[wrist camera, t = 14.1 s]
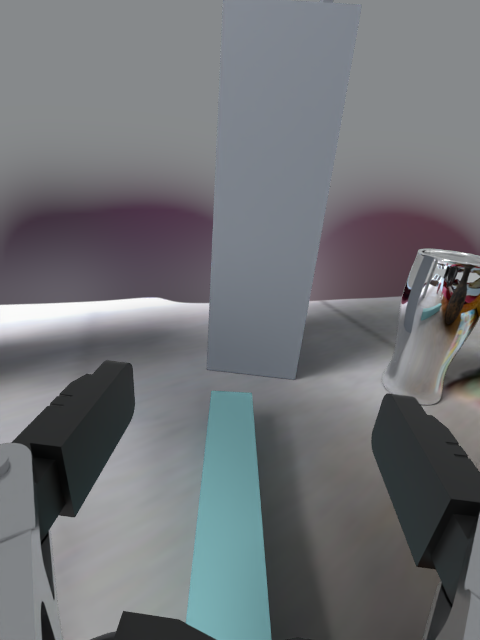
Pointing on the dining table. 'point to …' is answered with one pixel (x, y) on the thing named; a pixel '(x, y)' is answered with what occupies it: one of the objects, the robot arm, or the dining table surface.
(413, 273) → the beer glass
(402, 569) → the dining table surface
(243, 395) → the batten
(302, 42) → the tower
